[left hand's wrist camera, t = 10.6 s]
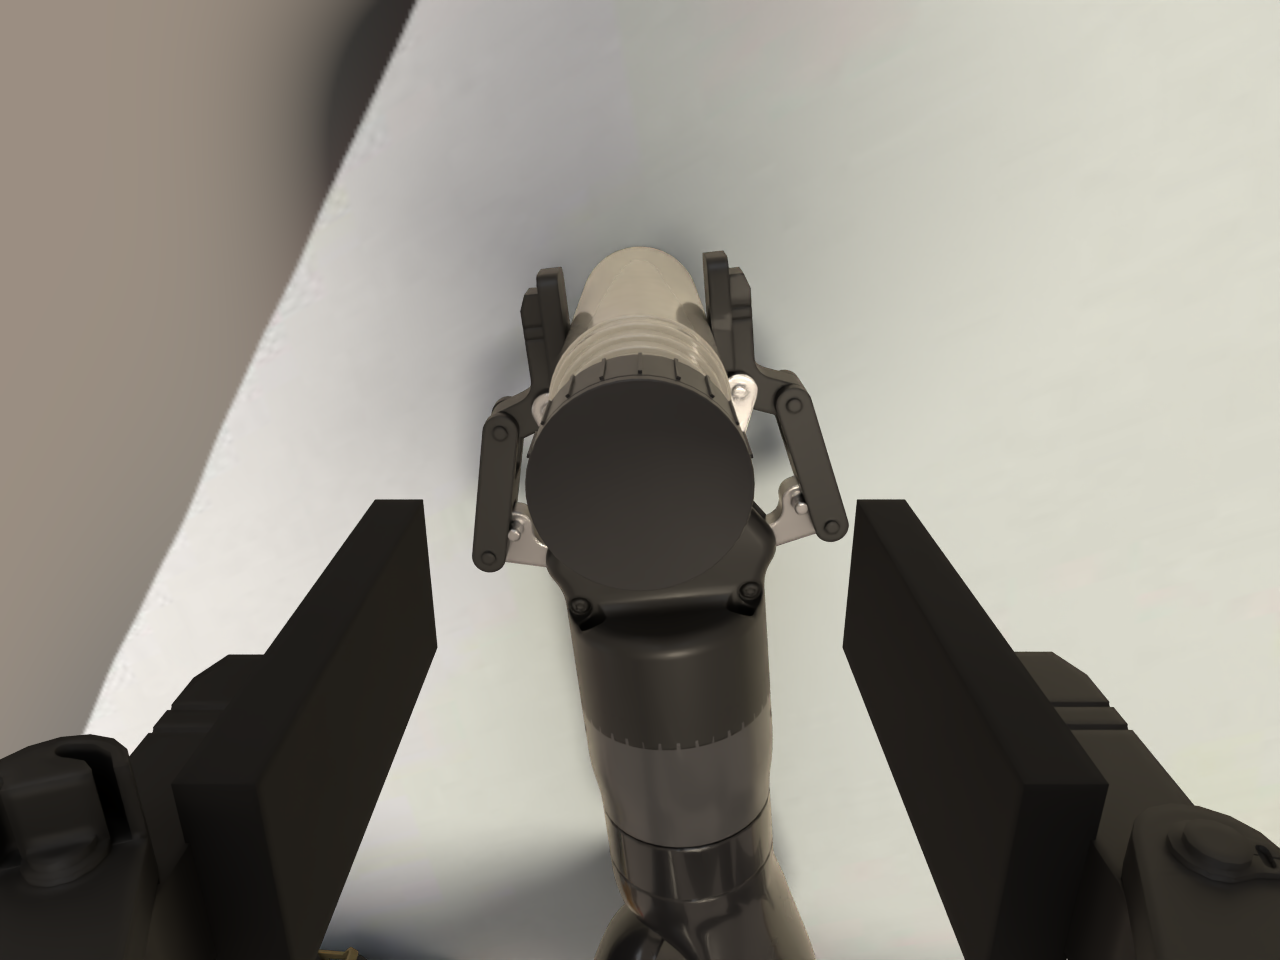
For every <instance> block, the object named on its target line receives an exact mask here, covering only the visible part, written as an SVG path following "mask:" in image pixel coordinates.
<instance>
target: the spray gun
mask: <svg viewBox="0 0 1280 960" xmlns="http://www.w3.org/2000/svg"><path fill="white" fill-rule="evenodd" d="M330 959H341V960H367V959H366V958H364V957H363V956H361V955H358V951H357V950H356V949H354V948H352V947H350V948H348V949H347V950H346V951H345V952H342V951H330V950H319V951H318V953H317V956H316V959H315V960H330Z"/></svg>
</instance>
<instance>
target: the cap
mask: <svg viewBox="0 0 1280 960" xmlns="http://www.w3.org/2000/svg"><path fill="white" fill-rule="evenodd" d="M527 458H529V460H528V465H527V469H526V480H525V488H526V489H525V490H526V499H527V505H528V510H529V513H530V516H531V519H532V522H533V524H534V526H535V528H536V530H537V532H538V534H539V536H540V537H541V539H542V540H543V542H544V543H545V545H546V546H547V548H548V549H549V550H550V551H551V552H552V553H553V554H554V556H555V557H556V558H557V559H559V560H560V561H561V562H562V563H563V564H564V565H565V566H567V567H568V568H569V569H571V570H572V571H574V572H575V573H577V574H578V575H580V576H582V577H584V578H586V579H588V580H590V581H592V582H595V583H598V584H600V585H603V586H607V587H611V588H615V589H620V590H628V591H651V590H660V589H665V588H669V587H673V586H677V585H679V584H682V583H685V582H688V581H690V580H692V579H694V578H696V577H698V576H700V575H701V574H703V573H704V572H706V571H707V570H709V569H710V568H712V567H713V566H714V565H716V564H717V563H718V562H719V561H720V560H721V559H723V558H724V556H725V555H726V554H727V553H728V552H729V551H730V550H731V549H732V548H733V546H734V545H735V543H736V542H737V540H738V539H739V537H740V536H741V534H742V532H743V530H744V528H745V526H746V524H747V521H748V518H749V515H750V513H751V509H752V504H753V499H754V486H755V482H754V470H753V465H752V461H751V458H753V454H752V451H751V449H750V446H749V443H748V440H747V437H746V434H745V431H743V432H742V430H741V427H740V423H739V420H738V417H737V414H736V411H735V408H734V405H733V402H732V401H731V400H730V401H728V400H727V398H726V397H725V396H724V394H723V393H722V392H721V390H720V389H719V388H718V387H717V386H716V385H715V384H714V383H713V382H712V381H711V380H710V377H709V376H708V375H706V376H704V375H703V374H702V373H700V372H699V371H697V370H695V369H693V368H692V367H690V366H688V365H686V364H683V363H681V362H679V361H678V359H676V358H674V360H673V359H669V358H665V357H662V356H654V355H642V352H638V355H626V356H618V357H615V358H611V359H607V360H606V358H603V359H602V361H601V362H599V363H596V364H594V365H592V366H590V367H588V368H586V369H585V370H583V371H581V372H580V373H578V374H577V375H576V376H574V374H573V375H572V376H571V377H570V380H569V381H568V382H567V383H566V384H565V385H564V386H563V387H562V388H561V389H560V390H559V391H558V393H557V394H556V395H555V397H554V398H553V399H552V401H551V400H549V401H548V402H547V405H546V408H545V411H544V414H543V417H542V420H541V423H540V426H539V429H538V431H535V434H534V437H533V439H532V442H531V445H530V448H529V451H528V454H527Z"/></svg>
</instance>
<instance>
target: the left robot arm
mask: <svg viewBox="0 0 1280 960" xmlns="http://www.w3.org/2000/svg"><path fill="white" fill-rule="evenodd" d="M436 650H437V638H436V628H435V618H434V607H433V597H432V587H431V577H430V567H429V556H428V546H427V536H426V526H425V516H424V505H423V500H374V502H373V503H372V505H371V506H370V507H369V509H368V510H367V512H366V513H365V514H364V516H363V517H362V519H361V520H360V521H359V523H358V524H357V526H356V527H355V528H354V530H353V531H352V532H351V534H350V535H349V537H348V538H347V539H346V541H345V542H344V544H343V545H342V546H341V548H340V549H339V551H338V552H337V553H336V555H335V556H334V558H333V559H332V560H331V562H330V563H329V565H328V566H327V567H326V569H325V570H324V572H323V573H322V574H321V576H320V577H319V578H318V580H317V581H316V583H315V584H314V585H313V587H312V588H311V590H310V591H309V592H308V594H307V595H306V597H305V598H304V599H303V601H302V602H301V604H300V605H299V606H298V608H297V609H296V611H295V612H294V613H293V615H292V616H291V618H290V619H289V620H288V622H287V623H286V624H285V626H284V627H283V629H282V630H281V631H280V633H279V634H278V636H277V637H276V638H275V640H274V641H273V643H272V644H271V645H270V647H269V648H268V650H267V651H266V652H265V654H264V655H227V656H226V657H224V658H223V659H221V660H220V661H218V662H217V663H215V664H214V665H212V666H211V667H209V668H207V669H206V670H204V671H203V672H201V673H200V674H198V675H197V676H195V677H194V678H193V679H192V680H191V681H190V683H189V684H188V685H187V686H186V688H185V689H184V690H183V691H182V692H181V694H180V695H179V696H178V697H177V699H176V700H175V701H174V702H173V704H172V708H171V710H167V711H166V712H165V713H164V715H163V716H162V717H161V718H160V719H159V721H158V722H157V723H156V724H155V726H154V727H153V732H152V733H148V734H147V735H146V737H145V738H144V739H143V740H142V742H141V743H140V744H139V745H138V746H137V748H136V749H135V750H134V751H133V753H132V754H131V755H130V756H129V754H128V750H127V748H125V747H124V746H123V745H121V744H120V743H119V742H118V741H116V740H115V739H114V738H108V737H103V736H97V735H92V734H88V735H77V736H66V737H59V738H56V739H52V740H49V741H45V742H42V743H38V744H35V745H31V746H28V747H26V748H24V749H21V750H19V751H17V752H15V753H13V754H11V755H9V756H7V757H5V758H2V759H0V960H315V959H316V956H317V953H318V951H319V948H320V946H321V943H322V941H323V938H324V936H325V933H326V930H327V928H328V925H329V923H330V920H331V918H332V915H333V913H334V910H335V907H336V905H337V902H338V900H339V897H340V895H341V892H342V890H343V887H344V885H345V882H346V879H347V877H348V874H349V872H350V869H351V867H352V864H353V862H354V859H355V856H356V854H357V851H358V849H359V846H360V844H361V841H362V839H363V836H364V833H365V831H366V828H367V826H368V823H369V821H370V818H371V816H372V813H373V811H374V808H375V805H376V803H377V800H378V798H379V795H380V793H381V790H382V788H383V785H384V782H385V780H386V777H387V775H388V772H389V770H390V767H391V765H392V762H393V759H394V757H395V754H396V752H397V749H398V747H399V744H400V742H401V739H402V737H403V734H404V731H405V729H406V726H407V724H408V721H409V719H410V716H411V714H412V711H413V708H414V706H415V703H416V701H417V698H418V696H419V693H420V691H421V688H422V685H423V683H424V680H425V678H426V675H427V673H428V670H429V668H430V665H431V663H432V660H433V657H434V655H435V652H436ZM843 650H844V652H845V655H846V657H847V660H848V663H849V665H850V668H851V670H852V673H853V675H854V678H855V680H856V683H857V685H858V688H859V691H860V693H861V696H862V698H863V701H864V703H865V706H866V708H867V711H868V714H869V716H870V719H871V721H872V724H873V726H874V729H875V731H876V734H877V737H878V739H879V742H880V744H881V747H882V749H883V752H884V754H885V757H886V759H887V762H888V765H889V767H890V770H891V772H892V775H893V777H894V780H895V782H896V785H897V788H898V790H899V793H900V795H901V798H902V800H903V803H904V805H905V808H906V811H907V813H908V816H909V818H910V821H911V823H912V826H913V828H914V831H915V833H916V836H917V839H918V841H919V844H920V846H921V849H922V851H923V854H924V856H925V859H926V862H927V864H928V867H929V869H930V872H931V874H932V877H933V879H934V882H935V885H936V887H937V890H938V892H939V895H940V897H941V900H942V902H943V905H944V908H945V910H946V913H947V915H948V918H949V920H950V923H951V925H952V928H953V930H954V933H955V936H956V938H957V941H958V943H959V946H960V948H961V951H962V953H963V956H964V959H965V960H1067V959H1068V960H1280V848H1279V847H1278V846H1276V845H1275V844H1274V843H1273V842H1271V841H1270V840H1269V839H1268V838H1267V837H1265V836H1264V835H1263V834H1262V833H1261V832H1259V831H1257V830H1255V829H1253V828H1251V827H1250V826H1248V825H1246V824H1244V823H1242V822H1240V821H1238V820H1236V819H1235V818H1233V817H1231V816H1228V815H1225V814H1222V813H1219V812H1216V811H1212V810H1209V809H1206V808H1203V807H1200V806H1194V804H1193V803H1192V802H1191V801H1190V800H1189V798H1188V797H1187V796H1186V795H1185V794H1184V792H1183V791H1182V790H1181V789H1180V787H1179V786H1178V785H1177V784H1176V783H1175V781H1174V780H1173V779H1172V778H1171V776H1170V775H1169V774H1168V773H1167V772H1166V770H1165V769H1164V768H1163V767H1162V766H1161V764H1160V763H1159V762H1158V761H1157V759H1156V758H1155V757H1154V756H1153V755H1152V753H1151V752H1150V751H1149V750H1148V748H1147V747H1146V746H1145V745H1144V744H1143V742H1142V741H1141V740H1140V739H1139V737H1138V736H1137V735H1136V734H1135V733H1134V731H1133V730H1128V727H1127V726H1128V724H1127V723H1126V722H1125V720H1124V719H1123V718H1122V717H1121V716H1120V714H1119V713H1118V712H1117V711H1116V709H1115V708H1114V707H1110V706H1109V701H1108V700H1107V699H1106V697H1105V696H1104V695H1103V694H1102V692H1101V691H1100V690H1099V689H1098V688H1097V686H1096V685H1095V684H1094V683H1093V681H1092V680H1091V679H1090V678H1089V677H1088V675H1086V674H1085V673H1083V672H1082V671H1080V670H1079V669H1077V668H1076V667H1074V666H1073V665H1071V664H1070V663H1068V662H1067V661H1065V660H1064V659H1062V658H1061V657H1059V656H1058V655H1056V654H1055V653H1053V652H1014V651H1013V650H1012V648H1011V647H1010V645H1009V644H1008V643H1007V641H1006V640H1005V638H1004V637H1003V636H1002V634H1001V633H1000V631H999V630H998V629H997V627H996V626H995V624H994V623H993V622H992V620H991V619H990V618H989V616H988V615H987V613H986V612H985V611H984V609H983V608H982V606H981V605H980V604H979V602H978V601H977V599H976V598H975V597H974V595H973V594H972V592H971V591H970V590H969V588H968V587H967V585H966V584H965V583H964V581H963V580H962V578H961V577H960V576H959V574H958V573H957V572H956V570H955V569H954V567H953V566H952V565H951V563H950V562H949V560H948V559H947V558H946V556H945V555H944V553H943V552H942V551H941V549H940V548H939V546H938V545H937V544H936V542H935V541H934V539H933V538H932V537H931V535H930V534H929V532H928V531H927V530H926V528H925V527H924V526H923V524H922V523H921V521H920V520H919V519H918V517H917V516H916V514H915V513H914V512H913V510H912V509H911V507H910V506H909V505H908V503H907V502H906V500H857V505H856V516H855V526H854V536H853V546H852V556H851V567H850V577H849V587H848V597H847V607H846V618H845V628H844V638H843Z"/></svg>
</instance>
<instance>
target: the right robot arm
mask: <svg viewBox="0 0 1280 960" xmlns="http://www.w3.org/2000/svg"><path fill="white" fill-rule="evenodd" d="M703 271H704V285H705V298H706V312H707V320H708V323H709V326H710V329H711V332H712V334H713V337H714V340H715V343H716V346H717V348H718V351H719V354H720V357H721V360H722V362H723V365H724V368H725V371H726V374H727V376H728V380H729V385H730V389H731V401H732V402H733V405H734V408H735V411H736V414H737V417H738V420H739V423H740V427H741V430H742V432H743V431H745V434H746V430H747V427H748V424H749V421H750V417H751V414H752V411H753V409H754V410H758V411H762V412H766V413H770V414H774V415H775V417H776V420H777V423H778V426H779V429H780V433H781V436H782V439H783V442H784V445H785V448H786V451H787V455H788V458H789V461H790V464H791V467H792V470H793V473H794V476H792V477H789V478H787V479H785V480H784V481H783V482H782V483H781V484H780V486H779V489H778V495H779V502H778V505H777V507H776V509H775V510H774V511H773V512H771V513H770V514H767V515H766V514H765V513H764V512H763V511H762V510H761V508H760V507H759V506H758V505H757V504H756V503H755V502H754V501H753V504H752V509H751V513H750V515H749V518H748V521H747V524H746V526H745V528H744V530H743V532H742V534H741V536H740V537H739V539H738V540H737V542H736V543H735V545H734V546H733V548H732V549H731V550H730V551H729V552H728V553H727V554H726V555H725V556H724V558H723V559H721V560H720V561H719V562H718V563H717V564H716V565H714V566H713V567H712V568H710V569H709V570H707V571H706V572H704V573H703V574H701V575H700V576H698V577H696V578H694V579H692V580H690V581H688V582H685V583H682V584H679V585H677V586H673V587H669V588H665V589H660V590H651V591H628V590H620V589H615V588H611V587H607V586H603V585H600V584H598V583H595V582H592V581H590V580H588V579H586V578H584V577H582V576H580V575H578V574H577V573H575V572H574V571H572V570H571V569H569V568H568V567H567V566H565V565H564V564H563V563H562V562H561V561H560V560H559V559H557V558H556V557H555V556H554V554H553V553H552V552H551V551H550V550H549V549H548V548H547V546H546V545H545V543H544V542H543V540H542V539H541V537H540V536H539V534H538V532H537V530H536V528H535V526H534V524H533V522H532V519H531V516H530V513H529V510H528V505H527V504H524V503H520V502H517V501H518V491H519V481H520V471H521V462H522V452H523V442H524V438H525V437H527V436H529V435H531V434H534V433H535V431H538V429H539V426H540V423H541V420H542V417H543V414H544V411H545V408H546V405H547V402H548V398H549V388H550V384H551V380H552V376H553V373H554V370H555V368H556V365H557V362H558V359H559V356H560V354H561V351H562V348H563V345H564V342H565V340H566V337H567V334H568V331H569V328H570V321H569V313H568V306H567V298H566V291H565V283H564V276H563V271H562V268H561V267H556V268H547V269H541V270H540V271H539V273H538V274H537V277H536V282H537V287H536V288H529V289H528V291H527V292H526V293H525V295H524V298H523V302H522V307H521V311H520V312H521V318H522V325H523V332H524V338H525V345H526V351H527V358H528V364H529V371H530V377H531V386H530V387H529V388H528V389H527V390H525V391H523V392H521V393H519V394H517V395H515V396H513V397H512V396H507V397H503V398H501V399H499V400H498V401H497V402H496V404H495V405H494V407H493V410H492V414H491V416H490V417H489V418H488V419H487V421H486V422H485V424H484V427H483V431H482V444H481V456H480V468H479V480H478V492H477V504H476V516H475V528H474V540H473V552H472V559H473V562H474V564H475V565H476V567H477V568H479V569H480V570H482V571H485V572H495V571H498V570H500V569H501V568H502V567H503V565H504V564H505V562H511V563H519V564H527V565H534V566H542V567H547V569H548V572H549V574H550V576H551V577H552V578H553V579H554V581H555V582H556V583H557V584H558V585H559V587H560V588H561V590H562V592H563V594H564V596H565V599H566V604H567V610H568V616H569V623H570V630H571V636H572V643H573V650H574V656H575V663H576V669H577V676H578V682H579V689H580V696H581V703H582V709H583V716H584V722H585V729H586V735H587V741H588V748H589V754H590V759H591V764H592V767H593V770H594V774H595V777H596V780H597V782H598V785H599V789H600V792H601V796H602V801H603V807H604V813H605V820H606V827H607V834H608V840H609V846H610V855H611V861H612V867H613V872H614V876H615V880H616V884H617V886H618V889H619V891H620V894H621V896H622V898H623V900H624V902H625V904H624V905H623V906H622V907H621V908H620V909H619V910H618V912H617V913H616V914H615V915H614V917H613V918H612V920H611V921H610V923H609V925H608V927H607V929H606V931H605V933H604V935H603V937H602V939H601V942H600V944H599V947H598V949H597V952H596V954H595V957H594V960H816V958H815V955H814V952H813V948H812V945H811V942H810V939H809V936H808V934H807V931H806V929H805V926H804V924H803V921H802V919H801V917H800V914H799V912H798V909H797V907H796V904H795V902H794V900H793V897H792V895H791V892H790V890H789V887H788V884H787V882H786V879H785V876H784V874H783V872H782V869H781V867H780V865H779V863H778V861H777V859H776V857H775V854H774V852H773V838H772V820H771V803H770V788H769V776H770V767H771V759H772V744H773V732H772V714H771V696H770V677H769V660H768V643H767V625H766V608H765V590H764V578H765V574H766V570H767V568H768V566H769V564H770V562H771V560H772V559H773V557H774V554H775V551H776V546H778V545H781V544H784V543H787V542H790V541H794V540H797V539H800V538H803V537H806V536H809V535H812V534H815V533H816V534H817V536H818V537H819V538H820V539H822V540H824V541H827V542H834V541H837V540H840V539H841V538H843V537H844V536H845V534H846V533H847V531H848V527H849V523H848V519H847V516H846V513H845V509H844V506H843V503H842V499H841V496H840V493H839V489H838V486H837V483H836V479H835V476H834V473H833V470H832V466H831V463H830V460H829V456H828V453H827V450H826V446H825V443H824V440H823V436H822V433H821V430H820V426H819V423H818V420H817V416H816V413H815V410H814V407H813V403H812V400H811V397H810V396H809V394H808V392H807V391H806V389H805V388H804V386H803V384H802V383H801V381H800V380H799V378H798V377H797V375H796V374H795V373H793V372H791V371H789V370H780V371H777V370H773V369H769V368H765V367H762V366H760V365H759V364H757V363H756V362H755V359H754V342H753V324H752V307H751V288H750V286H749V284H748V282H747V280H746V277H745V275H744V273H743V272H742V270H741V269H740V268H739V267H734V268H729V267H728V259H727V255H726V254H725V253H724V251H715V252H706V253H703Z"/></svg>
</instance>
